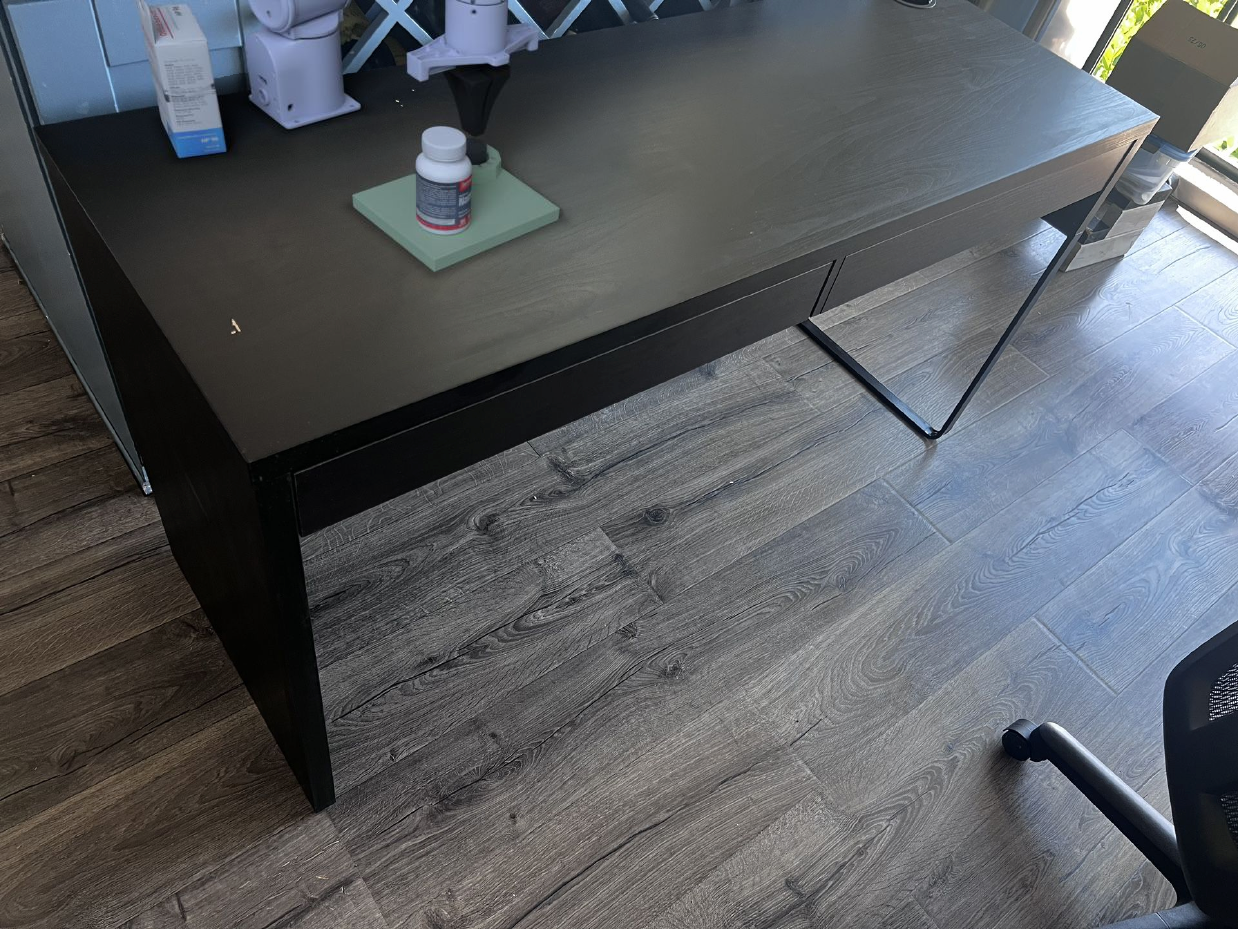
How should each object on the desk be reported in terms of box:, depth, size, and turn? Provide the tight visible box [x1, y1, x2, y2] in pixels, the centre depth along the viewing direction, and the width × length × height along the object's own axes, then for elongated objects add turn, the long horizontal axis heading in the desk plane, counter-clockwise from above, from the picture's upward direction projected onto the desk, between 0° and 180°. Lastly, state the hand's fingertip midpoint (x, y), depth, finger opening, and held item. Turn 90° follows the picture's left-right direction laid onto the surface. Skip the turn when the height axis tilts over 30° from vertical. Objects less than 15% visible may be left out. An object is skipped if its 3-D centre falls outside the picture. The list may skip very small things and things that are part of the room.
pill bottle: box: [415, 125, 472, 235], centre depth 89 cm, size 5×5×9 cm
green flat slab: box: [351, 144, 561, 273], centre depth 94 cm, size 16×14×3 cm
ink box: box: [135, 0, 227, 159], centre depth 93 cm, size 8×5×15 cm, turn 29°
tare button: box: [465, 137, 488, 165], centre depth 97 cm, size 3×3×2 cm
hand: (472, 131), depth 96 cm, fingers closed
